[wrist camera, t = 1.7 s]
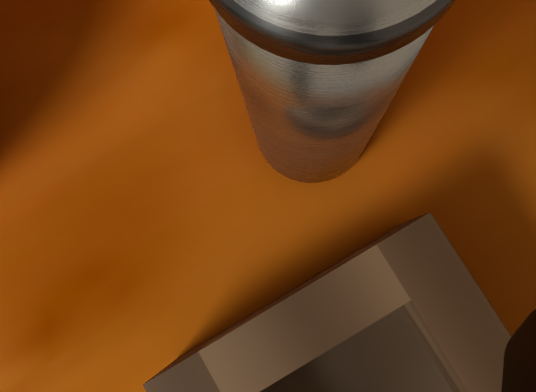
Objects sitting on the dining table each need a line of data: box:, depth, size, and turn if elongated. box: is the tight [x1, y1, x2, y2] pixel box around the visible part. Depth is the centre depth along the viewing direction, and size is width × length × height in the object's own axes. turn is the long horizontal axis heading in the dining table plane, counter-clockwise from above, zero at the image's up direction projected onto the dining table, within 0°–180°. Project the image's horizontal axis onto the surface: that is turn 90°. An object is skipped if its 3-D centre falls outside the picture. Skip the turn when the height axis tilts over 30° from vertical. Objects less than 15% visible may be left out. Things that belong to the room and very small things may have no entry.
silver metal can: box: [209, 0, 455, 183], centre depth 13 cm, size 5×5×13 cm
